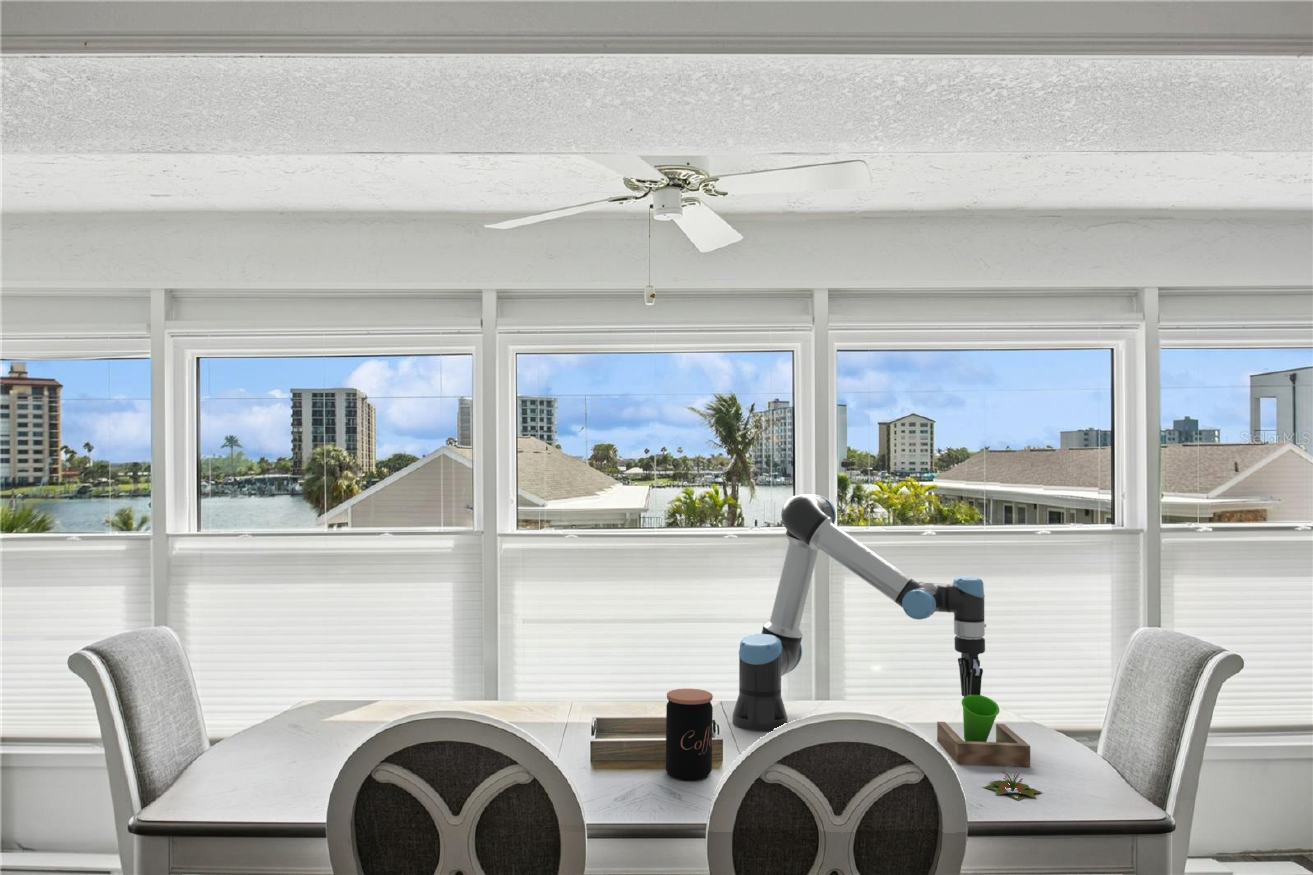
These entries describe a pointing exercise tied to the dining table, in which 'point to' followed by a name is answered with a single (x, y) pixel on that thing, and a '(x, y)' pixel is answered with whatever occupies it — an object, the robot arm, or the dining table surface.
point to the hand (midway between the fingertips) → (971, 726)
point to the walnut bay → (985, 748)
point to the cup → (978, 717)
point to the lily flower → (1012, 787)
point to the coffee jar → (689, 734)
